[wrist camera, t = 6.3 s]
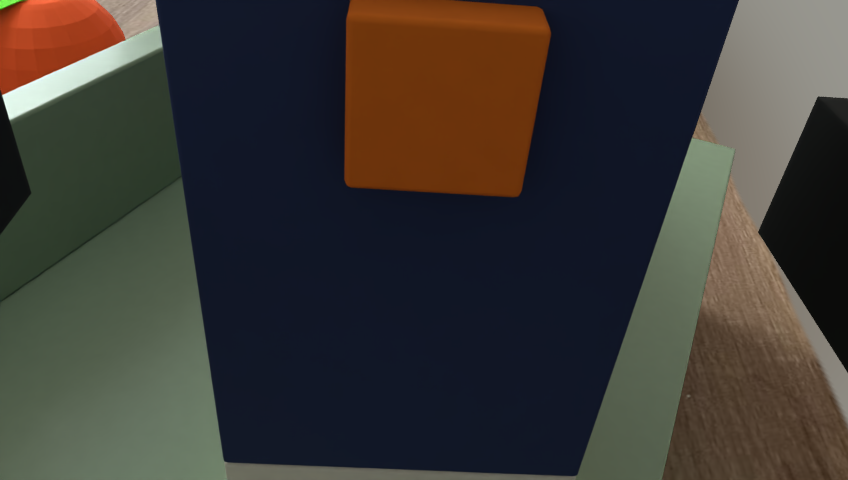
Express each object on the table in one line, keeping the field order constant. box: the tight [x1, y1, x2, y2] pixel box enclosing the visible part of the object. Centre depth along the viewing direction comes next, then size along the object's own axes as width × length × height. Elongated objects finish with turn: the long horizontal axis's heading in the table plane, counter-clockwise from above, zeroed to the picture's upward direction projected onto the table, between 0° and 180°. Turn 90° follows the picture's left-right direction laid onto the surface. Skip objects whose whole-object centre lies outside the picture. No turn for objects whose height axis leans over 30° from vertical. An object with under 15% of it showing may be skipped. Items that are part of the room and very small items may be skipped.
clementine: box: [0, 0, 125, 95], centre depth 35 cm, size 8×7×7 cm
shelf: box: [0, 25, 735, 480], centre depth 21 cm, size 16×22×11 cm
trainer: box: [156, 0, 739, 480], centre depth 16 cm, size 16×6×10 cm, turn 0°
